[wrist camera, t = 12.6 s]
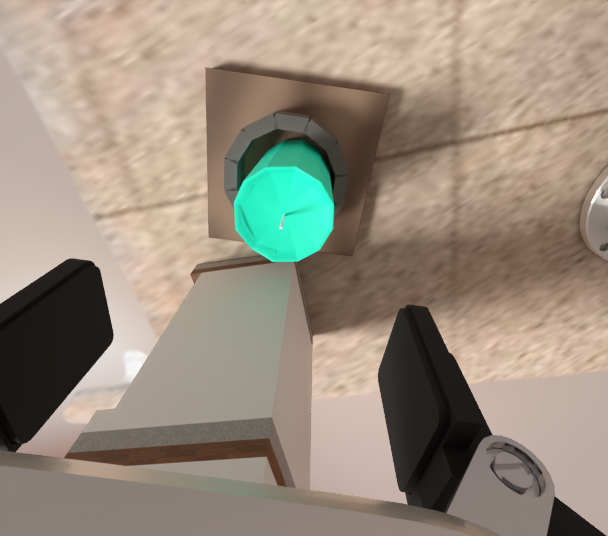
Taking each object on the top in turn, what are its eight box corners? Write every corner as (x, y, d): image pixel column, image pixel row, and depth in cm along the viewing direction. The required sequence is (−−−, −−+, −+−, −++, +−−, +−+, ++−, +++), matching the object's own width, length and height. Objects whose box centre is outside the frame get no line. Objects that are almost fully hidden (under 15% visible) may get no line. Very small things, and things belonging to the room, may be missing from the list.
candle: (293, 121, 26) (276, 144, 15) (344, 175, 28) (360, 228, 17) (246, 175, 28) (202, 227, 17) (295, 221, 30) (284, 293, 19)
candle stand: (385, 94, 26) (397, 94, 22) (350, 249, 33) (355, 271, 29) (211, 68, 25) (191, 64, 21) (213, 231, 32) (198, 251, 28)
